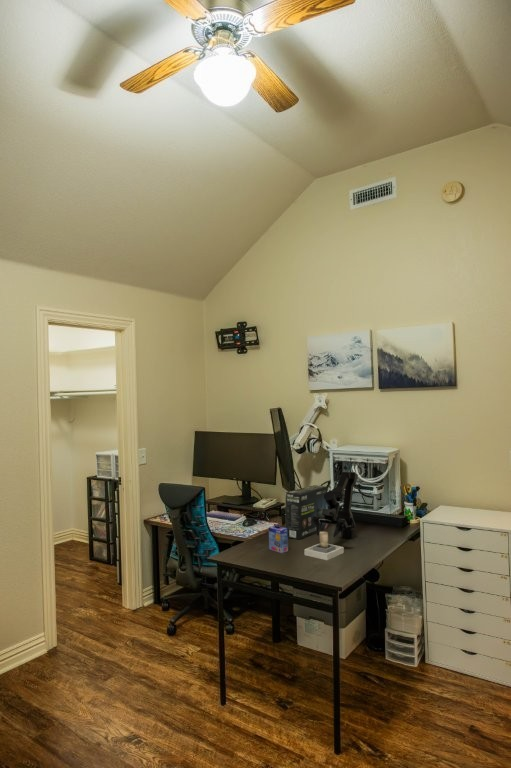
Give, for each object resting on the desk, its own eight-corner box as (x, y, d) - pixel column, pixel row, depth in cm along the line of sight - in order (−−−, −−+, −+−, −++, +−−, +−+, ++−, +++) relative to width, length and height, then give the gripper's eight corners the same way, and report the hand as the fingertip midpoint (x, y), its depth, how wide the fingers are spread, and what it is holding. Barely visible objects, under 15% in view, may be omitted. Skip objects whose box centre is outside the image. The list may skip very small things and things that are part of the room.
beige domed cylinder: (318, 551, 253) (318, 532, 254) (325, 550, 255) (325, 531, 256) (322, 553, 249) (322, 534, 250) (330, 552, 251) (329, 533, 252)
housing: (304, 555, 251) (304, 547, 251) (321, 548, 263) (321, 540, 263) (327, 560, 241) (327, 552, 242) (343, 552, 253) (343, 545, 254)
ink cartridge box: (268, 549, 261) (267, 522, 262) (275, 547, 265) (274, 521, 266) (281, 553, 254) (281, 525, 255) (288, 551, 258) (288, 523, 259)
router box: (300, 540, 279) (299, 494, 280) (284, 537, 285) (283, 492, 287) (329, 527, 308) (328, 485, 309) (314, 525, 314) (313, 484, 316)
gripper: (312, 501, 265) (304, 525, 255) (345, 503, 255) (338, 529, 245) (318, 512, 271) (311, 537, 261) (350, 515, 262) (344, 541, 252)
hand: (325, 536), depth 255 cm, fingers open, 9 cm apart
